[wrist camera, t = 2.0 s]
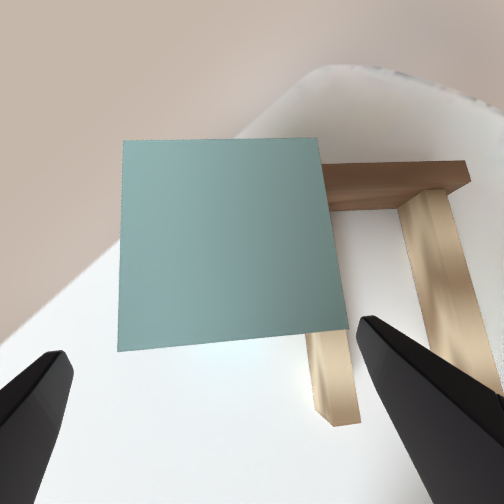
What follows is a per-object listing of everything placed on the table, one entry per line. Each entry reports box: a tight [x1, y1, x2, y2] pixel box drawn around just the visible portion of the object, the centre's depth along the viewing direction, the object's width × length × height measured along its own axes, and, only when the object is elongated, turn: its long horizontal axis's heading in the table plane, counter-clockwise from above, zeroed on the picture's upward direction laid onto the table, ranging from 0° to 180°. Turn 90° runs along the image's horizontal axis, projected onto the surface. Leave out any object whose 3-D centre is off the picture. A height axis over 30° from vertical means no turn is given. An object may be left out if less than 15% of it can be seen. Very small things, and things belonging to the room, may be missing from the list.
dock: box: [305, 160, 504, 427], centre depth 18 cm, size 14×12×4 cm
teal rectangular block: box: [117, 138, 349, 352], centre depth 12 cm, size 4×4×13 cm
